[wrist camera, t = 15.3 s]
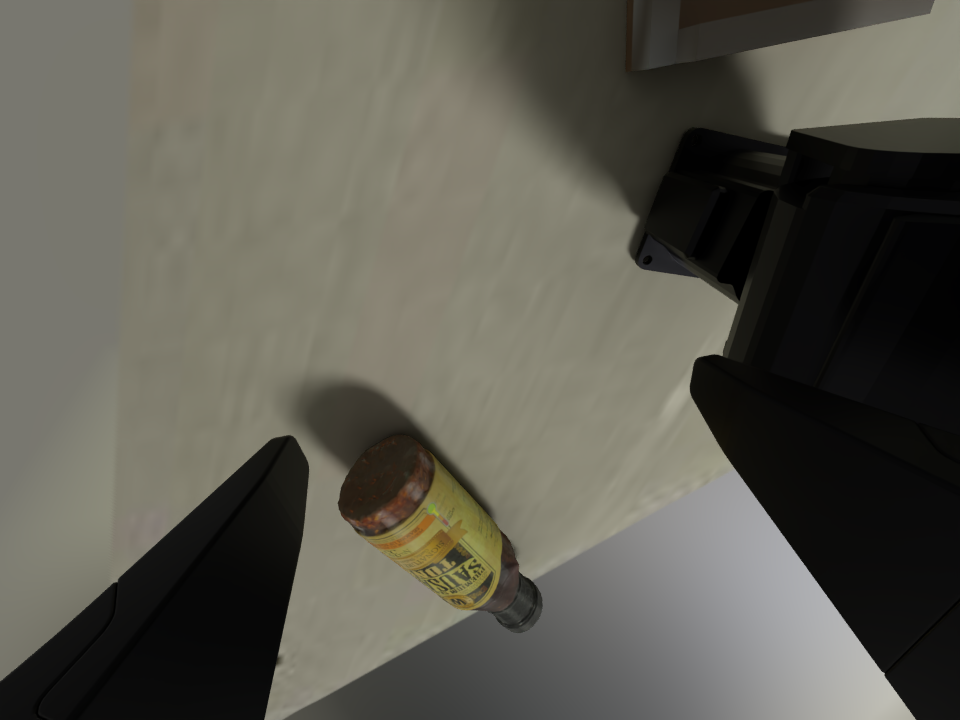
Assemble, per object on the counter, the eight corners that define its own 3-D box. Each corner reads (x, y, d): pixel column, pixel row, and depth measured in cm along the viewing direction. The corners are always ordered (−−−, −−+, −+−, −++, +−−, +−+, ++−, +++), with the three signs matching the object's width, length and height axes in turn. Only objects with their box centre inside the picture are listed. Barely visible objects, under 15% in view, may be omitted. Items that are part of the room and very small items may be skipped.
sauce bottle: (398, 508, 20) (565, 649, 30) (425, 417, 25) (562, 563, 35) (310, 531, 23) (489, 653, 33) (350, 444, 28) (496, 573, 37)
